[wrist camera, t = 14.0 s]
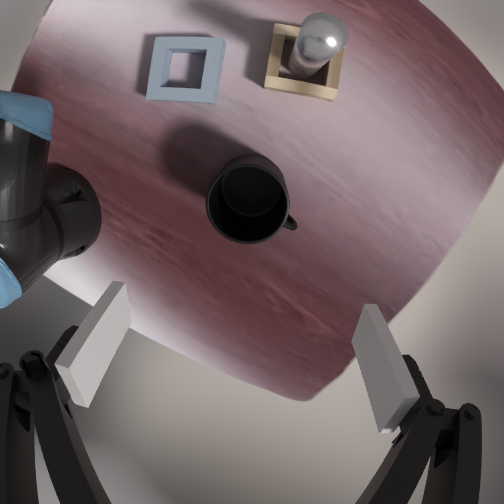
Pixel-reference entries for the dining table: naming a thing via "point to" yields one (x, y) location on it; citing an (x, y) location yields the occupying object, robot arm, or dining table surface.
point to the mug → (249, 200)
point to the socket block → (162, 63)
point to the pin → (317, 43)
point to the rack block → (293, 86)
